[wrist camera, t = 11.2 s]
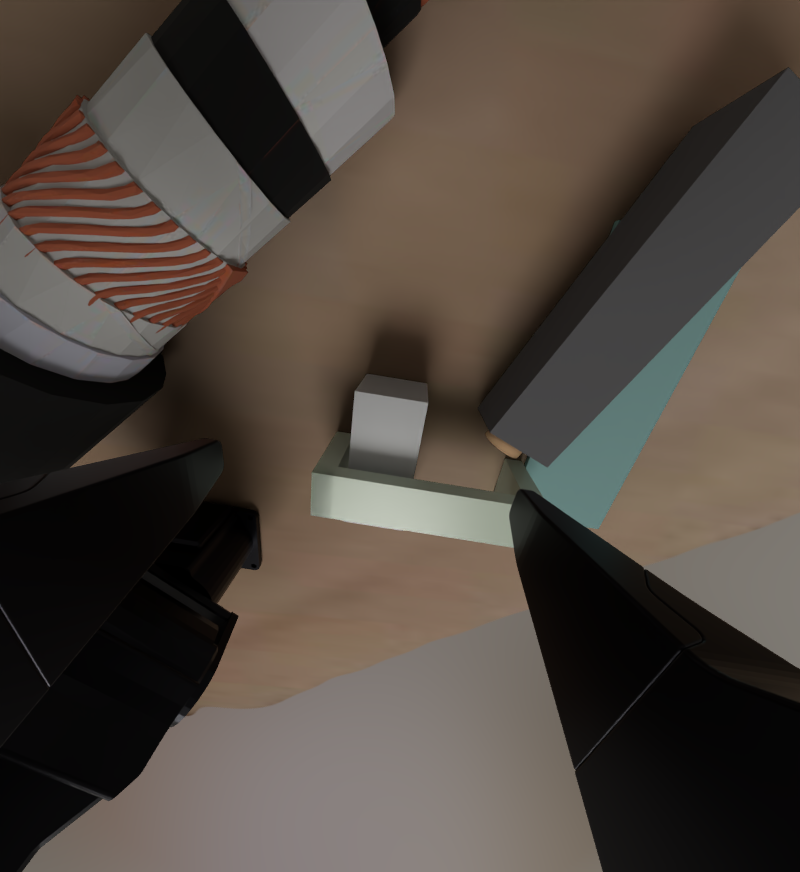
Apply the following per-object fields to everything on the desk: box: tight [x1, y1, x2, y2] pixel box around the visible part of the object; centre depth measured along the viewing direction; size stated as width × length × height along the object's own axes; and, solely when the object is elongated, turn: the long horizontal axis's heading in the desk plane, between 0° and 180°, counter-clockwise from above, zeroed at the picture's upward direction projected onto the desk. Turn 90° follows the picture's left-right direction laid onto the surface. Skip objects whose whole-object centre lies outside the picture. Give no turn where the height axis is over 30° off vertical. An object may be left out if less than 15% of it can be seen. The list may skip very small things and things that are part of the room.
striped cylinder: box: [0, 0, 429, 483], centre depth 14 cm, size 10×34×10 cm, turn 125°
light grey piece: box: [311, 431, 543, 548], centre depth 20 cm, size 3×13×6 cm, turn 82°
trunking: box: [345, 374, 428, 531], centre depth 20 cm, size 9×4×4 cm, turn 172°
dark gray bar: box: [478, 67, 800, 468], centre depth 16 cm, size 18×4×4 cm, turn 149°
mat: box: [524, 220, 741, 529], centre depth 20 cm, size 19×7×1 cm, turn 172°
